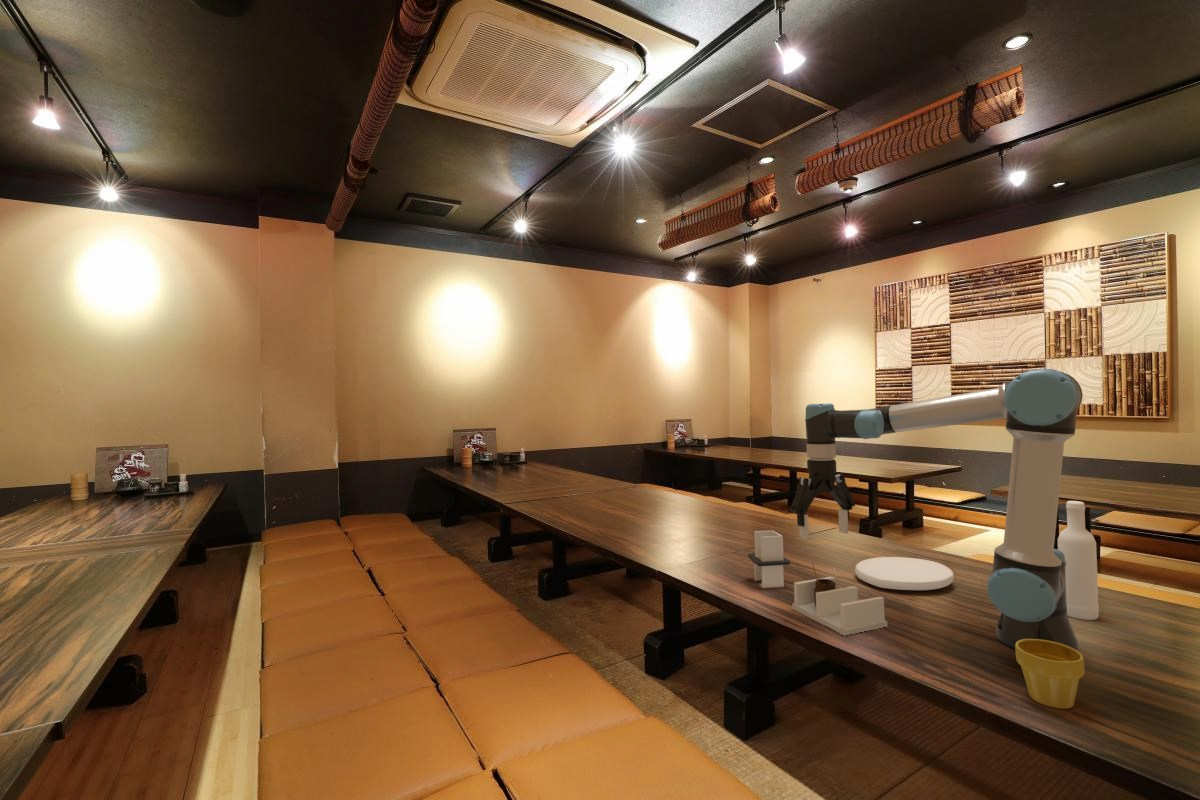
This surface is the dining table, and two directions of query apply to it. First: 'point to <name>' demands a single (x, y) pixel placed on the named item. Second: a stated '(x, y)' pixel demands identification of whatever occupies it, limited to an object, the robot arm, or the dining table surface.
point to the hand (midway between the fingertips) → (824, 535)
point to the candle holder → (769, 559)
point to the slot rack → (839, 608)
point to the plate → (904, 573)
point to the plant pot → (1050, 671)
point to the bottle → (1079, 564)
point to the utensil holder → (823, 584)
